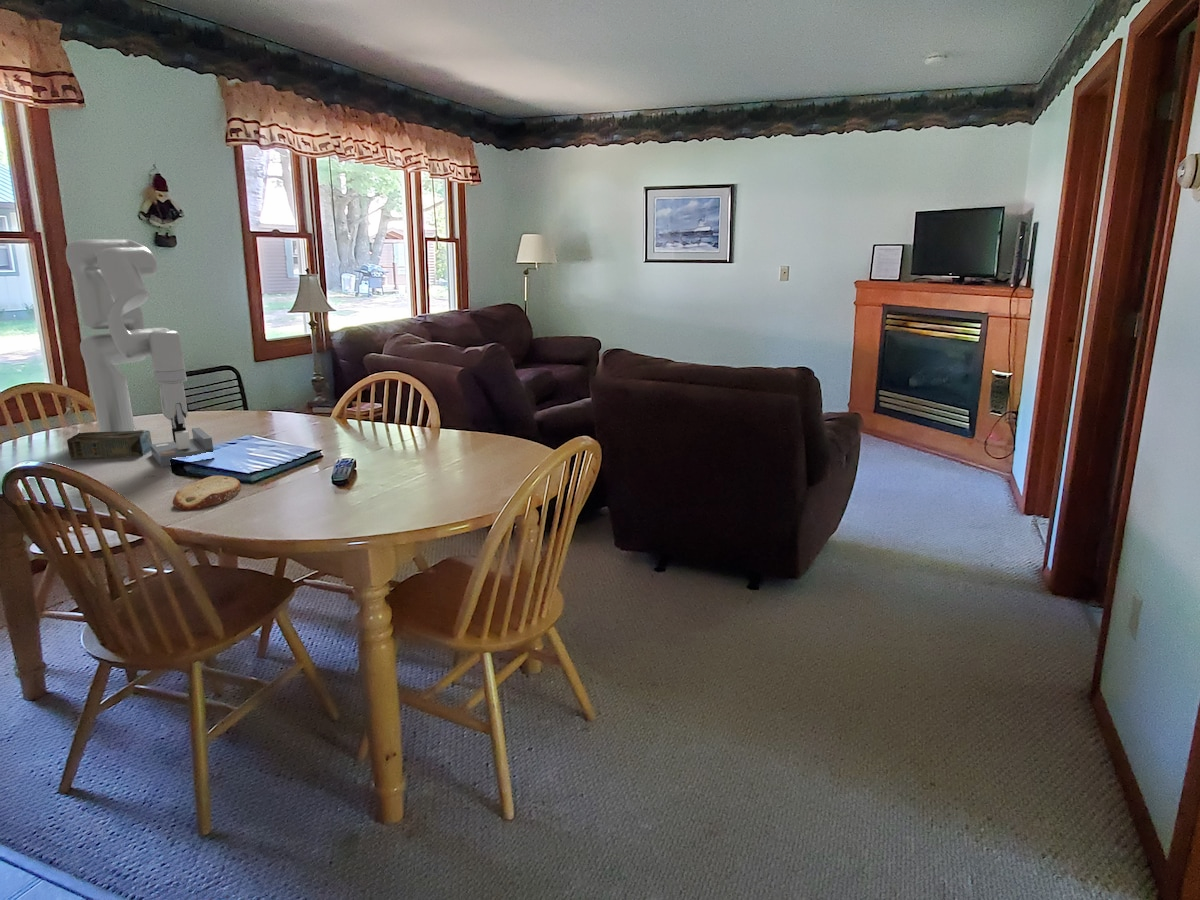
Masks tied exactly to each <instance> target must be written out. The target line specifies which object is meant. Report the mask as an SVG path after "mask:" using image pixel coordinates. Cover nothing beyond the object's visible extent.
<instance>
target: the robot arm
mask: <svg viewBox="0 0 1200 900" xmlns="http://www.w3.org/2000/svg"><path fill="white" fill-rule="evenodd" d="M65 258H66V262H67V265H68V268H69V269H70V272H71V274H72V276H73V278H74V281H75V283H76V288H77V289H76V290H77V295H78V296H77V297H78V302H79V308H80V315H81V320H82V322H83V325H84V326H85V327H86V328H88V329H89V330H97V331H99V330H109V331H108V332H106V333H96V334H92V335H88V336H86V337H84V338H83V339H82V340H81V341H80V342H79V343H80V344H79V349H80V350H79V351H80V354H81V357H82V359H83V361H84V365H85V368H86V370H87V373H88V379H89V385H90V389H91V394H92V400H93V404H94V410H95V417H96V421H97V422H96V423H97V427H98V432H115V431H139V430H141V429H140V428H137V427H135V421H134V416H133V414H134V413H133V409H132V404H131V399H130V391H129V387H128V380H127V377H126V376H125V374H124V373H123V372H121V371H120V370H119V369H118V368H117V367H116V365H117V366H118V365H121V364H122V365H123V364H129V363H130V364H131V363H137V362H142V361H145V359H146V358H147V357H151V361H152V362H151V363H152V368H153V373H154V374H153V375H154V380H155V384H158V385H159V393H160V394H159V395H160V402H161V411H162V415H163V416H164V417H165V418H166V419H167V420H169V421H170V424H171V432H172V438H173V441H174V442H175V443H176V439H175V432H178V431H185V430H187V428H186V422H185V419H186V418H188V414H189V413H188V405H187V400H186V399H187V398H186V393H185V387H184V382H187V381H188V378H187V373H186V372H187V371H186V365H185V359H184V352H183V346H182V338H181V335H180V333H179V332H178V331H177V330H173V329H172V330H171V329H169V328H166V327H151V328H148V327H147V328H146V326H145V319H144V313H143V309H142V307H141V306H142V305H143V304H145V303H146V302H147V301H148V298H149V292H148V289H147V288H146V286H145V284H144V282H143V280H142V278H149V277H153V276H155V275H156V274H157V271H158V262H157V259H156V257H155V255H154V253H153V252H152V251H151V250H150V249H149V248H148V247H146V246H145V245H143V244H141V243H139V242H136V241H134V240H132V239H126V238H124V239H123V238H114V239H113V238H94V239H93V238H89V239H88V238H86V239H83V238H82V239H77V240H74V241H71V242H68V244H67V245H66V249H65Z"/></svg>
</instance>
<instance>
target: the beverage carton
mask: <svg viewBox="0 0 1200 900" xmlns="http://www.w3.org/2000/svg"><path fill="white" fill-rule="evenodd" d="M66 443H67V447H68V452H69V457H70V460H71V459H72V460H84V459H83V458H92V459H102V458H101V457H104V458H103V459H106V458H105V457H112V458H127V457H126V456H131V457H144V456H145V455H147V454H148V453H149V452H150V451H151V446H150V445H152V444H153V442H152V437H151V431H150V430H145V429H140V430H139V431H115V432H99V431H90V432H88V431H87V432H78V433H77V434H74V435H73V436H72V437H69V438H67V441H66ZM143 455H144V456H143Z"/></svg>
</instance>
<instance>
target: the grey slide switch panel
mask: <svg viewBox="0 0 1200 900" xmlns="http://www.w3.org/2000/svg"><path fill="white" fill-rule="evenodd" d="M191 434H192V438H189V440H190V446H191V448H186V449H180V450H178V448H177V445H176V443H175V442H174V440H173V441H168V442H167V441H166V442H159V443H152V445H150V446H151V456H152V457H153V458H154V459H155V461H156V462H157V463H158V464H159V466H160V467H161V468H167V467H171V466H170V460H171V459H172V458H176V457H186V456H192V455H197V454H201V453H206V452H213V451H214V444H213V438H212V437H211V436H210V435H209V434H208V433H206V432H205V430H203V429H202V428H200V427H194V428H193V427H192V428H191Z"/></svg>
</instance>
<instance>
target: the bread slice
mask: <svg viewBox="0 0 1200 900" xmlns="http://www.w3.org/2000/svg"><path fill="white" fill-rule="evenodd" d="M241 491H242V484H241V482H240V480H238V478H236V477H232V476H227V475H211V476H208V477H204V478H202V479H199V480H197V481H194V482H192V483H190V484H187V486H184V487H183V488H179V489H178V490H177V491H176V493H175V495H174V497H173V499H172V505H173V506H174V508H175V509H177V510H178V511H180V512H189V511H199V510H203V509H206V508H209V507H212V506H214V507H215V506H217V505H220V504H223V503H225V502H228V501H229V500H232V499H233V498H235V497H236V496H237V495H238V494H239V493H240V492H241Z"/></svg>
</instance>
